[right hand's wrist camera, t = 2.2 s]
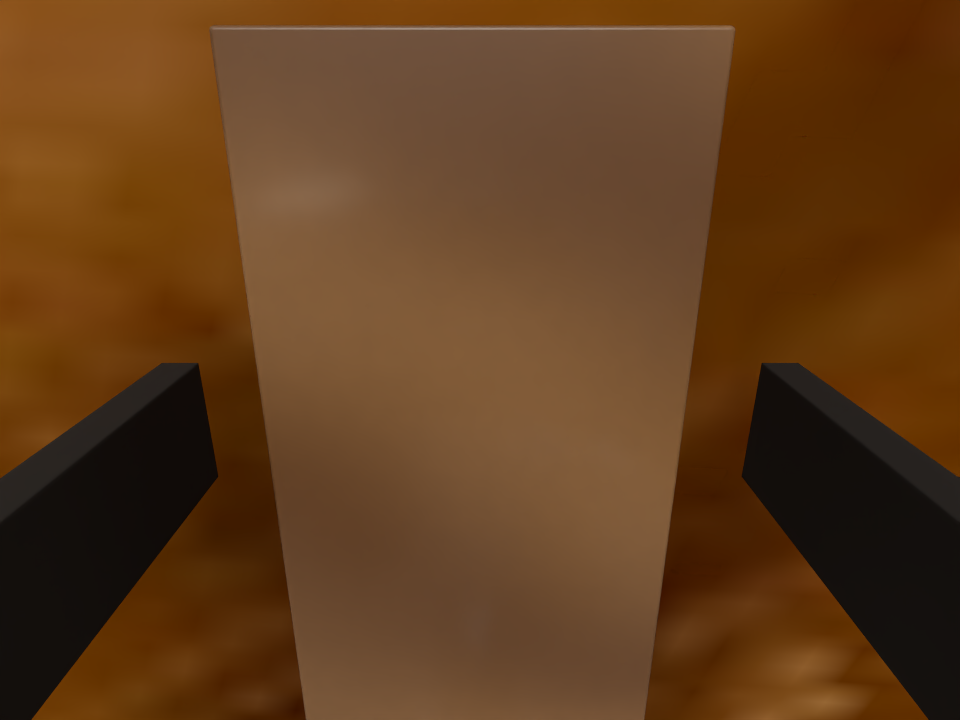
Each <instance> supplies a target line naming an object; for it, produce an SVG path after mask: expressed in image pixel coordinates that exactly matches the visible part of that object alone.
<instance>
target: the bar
mask: <svg viewBox="0 0 960 720" xmlns="http://www.w3.org/2000/svg"><path fill="white" fill-rule="evenodd" d="M734 36H735V27H733V26H731V25H213V26H211V27H210V37H211V44H212V52H213V59H214V66H215V73H216V80H217V87H218V94H219V102H220V109H221V116H222V123H223V130H224V137H225V144H226V152H227V159H228V166H229V173H230V180H231V187H232V194H233V202H234V209H235V216H236V223H237V230H238V237H239V244H240V252H241V259H242V266H243V273H244V280H245V287H246V294H247V301H248V309H249V316H250V323H251V330H252V337H253V344H254V351H255V359H256V366H257V373H258V380H259V387H260V394H261V401H262V409H263V416H264V423H265V430H266V437H267V444H268V451H269V459H270V466H271V473H272V480H273V487H274V494H275V501H276V509H277V516H278V523H279V530H280V537H281V544H282V551H283V559H284V566H285V573H286V580H287V587H288V594H289V601H290V609H291V616H292V623H293V630H294V637H295V644H296V651H297V658H298V666H299V673H300V680H301V687H302V694H303V701H304V708H305V716H306V720H644V718H645V710H646V702H647V695H648V687H649V680H650V672H651V665H652V657H653V649H654V642H655V634H656V627H657V619H658V612H659V604H660V596H661V589H662V581H663V574H664V566H665V559H666V551H667V543H668V536H669V528H670V521H671V513H672V506H673V498H674V490H675V483H676V475H677V468H678V460H679V453H680V445H681V437H682V430H683V422H684V415H685V407H686V400H687V392H688V384H689V377H690V369H691V362H692V354H693V347H694V339H695V331H696V324H697V316H698V309H699V301H700V294H701V286H702V279H703V271H704V263H705V256H706V248H707V241H708V233H709V226H710V218H711V210H712V203H713V195H714V188H715V180H716V173H717V165H718V157H719V150H720V142H721V135H722V127H723V120H724V112H725V104H726V97H727V89H728V82H729V74H730V67H731V59H732V51H733V44H734Z"/></svg>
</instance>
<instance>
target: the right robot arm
mask: <svg viewBox="0 0 960 720" xmlns="http://www.w3.org/2000/svg"><path fill="white" fill-rule="evenodd" d="M217 477H218V473H217V467H216V461H215V456H214V450H213V444H212V439H211V433H210V427H209V422H208V416H207V410H206V405H205V399H204V393H203V388H202V382H201V376H200V371H199V365H198V363H161V364H160V365H159V366H157V367H156V368H154V369H153V370H152V371H150V372H149V373H147V374H146V375H145V376H143V377H142V378H140V379H139V380H138V381H136V382H135V383H133V384H132V385H131V386H129V387H128V388H126V389H125V390H124V391H122V392H121V393H119V394H118V395H117V396H115V397H114V398H112V399H111V400H110V401H108V402H107V403H105V404H104V405H103V406H101V407H100V408H98V409H97V410H96V411H94V412H93V413H91V414H90V415H89V416H87V417H86V418H84V419H83V420H82V421H80V422H79V423H77V424H76V425H75V426H73V427H72V428H70V429H69V430H68V431H66V432H65V433H63V434H62V435H61V436H59V437H58V438H56V439H55V440H54V441H52V442H51V443H49V444H48V445H47V446H45V447H44V448H42V449H41V450H40V451H38V452H37V453H35V454H34V455H33V456H31V457H30V458H28V459H27V460H26V461H24V462H23V463H21V464H20V465H19V466H17V467H16V468H14V469H13V470H12V471H10V472H9V473H7V474H6V475H5V476H3V477H2V478H0V720H31V719H32V718H33V717H34V715H35V714H36V713H37V711H38V710H39V709H40V708H41V706H42V705H43V704H44V702H45V701H46V700H47V698H48V697H49V696H50V695H51V693H52V692H53V691H54V689H55V688H56V687H57V685H58V684H59V683H60V682H61V680H62V679H63V678H64V676H65V675H66V674H67V672H68V671H69V670H70V669H71V667H72V666H73V665H74V663H75V662H76V661H77V659H78V658H79V657H80V656H81V654H82V653H83V652H84V650H85V649H86V648H87V646H88V645H89V644H90V643H91V641H92V640H93V639H94V637H95V636H96V635H97V633H98V632H99V631H100V630H101V628H102V627H103V626H104V624H105V623H106V622H107V620H108V619H109V618H110V617H111V615H112V614H113V613H114V611H115V610H116V609H117V607H118V606H119V605H120V604H121V602H122V601H123V600H124V598H125V597H126V596H127V594H128V593H129V592H130V591H131V589H132V588H133V587H134V585H135V584H136V583H137V581H138V580H139V579H140V578H141V576H142V575H143V574H144V572H145V571H146V570H147V568H148V567H149V566H150V565H151V563H152V562H153V561H154V559H155V558H156V557H157V555H158V554H159V553H160V552H161V550H162V549H163V548H164V546H165V545H166V544H167V542H168V541H169V540H170V539H171V537H172V536H173V535H174V533H175V532H176V531H177V529H178V528H179V527H180V526H181V524H182V523H183V522H184V520H185V519H186V518H187V516H188V515H189V514H190V513H191V511H192V510H193V509H194V507H195V506H196V505H197V503H198V502H199V501H200V500H201V498H202V497H203V496H204V494H205V493H206V492H207V490H208V489H209V488H210V487H211V485H212V484H213V483H214V481H215V480H216V479H217ZM742 477H743V479H744V480H745V481H746V483H747V484H748V485H749V486H750V488H751V489H752V490H753V492H754V493H755V494H756V496H757V497H758V498H759V499H760V501H761V502H762V503H763V505H764V506H765V507H766V509H767V510H768V511H769V513H770V514H771V515H772V516H773V518H774V519H775V520H776V522H777V523H778V524H779V526H780V527H781V528H782V529H783V531H784V532H785V533H786V535H787V536H788V537H789V539H790V540H791V541H792V542H793V544H794V545H795V546H796V548H797V549H798V550H799V552H800V553H801V554H802V555H803V557H804V558H805V559H806V561H807V562H808V563H809V565H810V566H811V567H812V568H813V570H814V571H815V572H816V574H817V575H818V576H819V578H820V579H821V580H822V581H823V583H824V584H825V585H826V587H827V588H828V589H829V591H830V592H831V593H832V594H833V596H834V597H835V598H836V600H837V601H838V602H839V604H840V605H841V606H842V607H843V609H844V610H845V611H846V613H847V614H848V615H849V617H850V618H851V619H852V620H853V622H854V623H855V624H856V626H857V627H858V628H859V630H860V631H861V632H862V633H863V635H864V636H865V637H866V639H867V640H868V641H869V643H870V644H871V645H872V646H873V648H874V649H875V650H876V652H877V653H878V654H879V656H880V657H881V658H882V659H883V661H884V662H885V663H886V665H887V666H888V667H889V669H890V670H891V671H892V672H893V674H894V675H895V676H896V678H897V679H898V680H899V682H900V683H901V684H902V685H903V687H904V688H905V689H906V691H907V692H908V693H909V695H910V696H911V697H912V698H913V700H914V701H915V702H916V704H917V705H918V706H919V708H920V709H921V710H922V711H923V713H924V714H925V715H926V717H927V718H928V719H929V720H960V477H957V476H955V475H954V474H953V473H951V472H950V471H948V470H947V469H946V468H944V467H943V466H941V465H940V464H939V463H937V462H936V461H934V460H933V459H932V458H930V457H929V456H927V455H926V454H925V453H923V452H922V451H920V450H919V449H918V448H916V447H915V446H913V445H912V444H911V443H909V442H908V441H906V440H905V439H904V438H902V437H901V436H899V435H898V434H897V433H895V432H894V431H892V430H891V429H890V428H888V427H887V426H885V425H884V424H883V423H881V422H880V421H878V420H877V419H876V418H874V417H873V416H871V415H870V414H869V413H867V412H866V411H864V410H863V409H862V408H860V407H859V406H857V405H856V404H855V403H853V402H852V401H850V400H849V399H848V398H846V397H845V396H843V395H842V394H841V393H839V392H838V391H836V390H835V389H834V388H832V387H831V386H829V385H828V384H827V383H825V382H824V381H822V380H821V379H820V378H818V377H817V376H815V375H814V374H813V373H811V372H810V371H808V370H807V369H806V368H804V367H803V366H801V365H800V364H799V363H762V365H761V371H760V376H759V382H758V388H757V393H756V399H755V405H754V410H753V416H752V422H751V427H750V433H749V439H748V444H747V450H746V456H745V461H744V467H743V473H742Z"/></svg>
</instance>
